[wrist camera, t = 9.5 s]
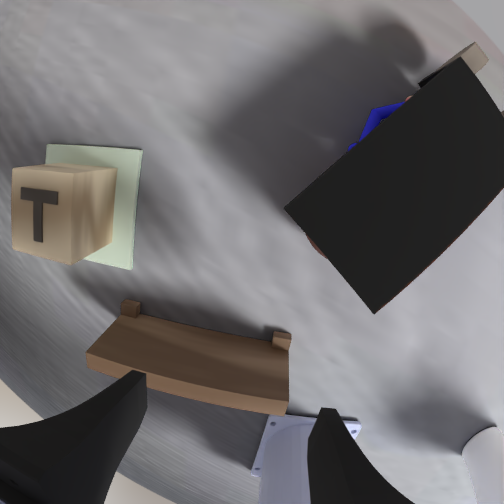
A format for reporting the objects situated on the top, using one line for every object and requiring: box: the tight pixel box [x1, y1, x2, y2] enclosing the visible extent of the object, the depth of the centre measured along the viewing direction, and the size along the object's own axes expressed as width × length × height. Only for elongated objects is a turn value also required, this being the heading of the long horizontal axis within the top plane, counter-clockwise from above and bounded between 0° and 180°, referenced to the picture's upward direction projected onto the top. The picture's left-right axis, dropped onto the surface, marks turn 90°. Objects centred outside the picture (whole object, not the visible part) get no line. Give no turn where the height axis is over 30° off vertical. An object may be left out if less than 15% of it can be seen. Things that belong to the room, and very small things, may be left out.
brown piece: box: [86, 299, 291, 416], centre depth 19 cm, size 3×12×6 cm, turn 80°
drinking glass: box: [462, 427, 504, 504], centre depth 17 cm, size 7×7×15 cm
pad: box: [45, 144, 143, 270], centre depth 20 cm, size 8×8×1 cm
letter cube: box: [11, 163, 118, 265], centre depth 17 cm, size 5×5×5 cm
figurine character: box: [284, 42, 504, 314], centre depth 15 cm, size 7×8×15 cm
